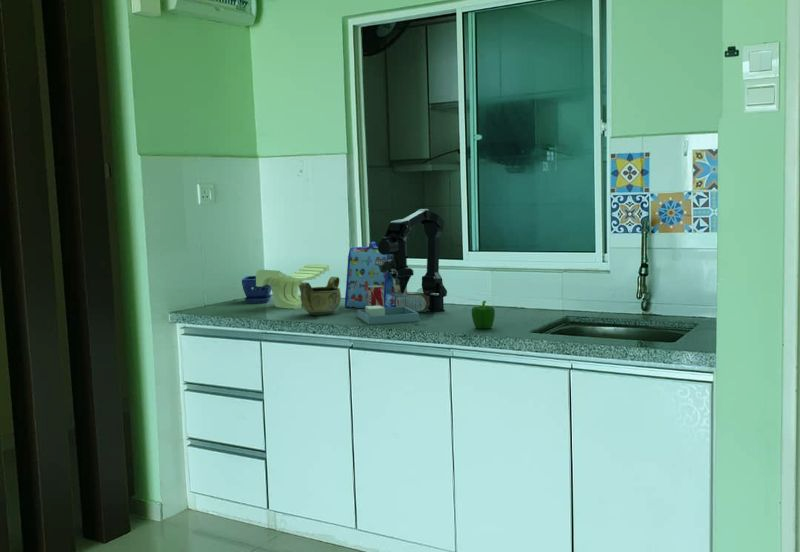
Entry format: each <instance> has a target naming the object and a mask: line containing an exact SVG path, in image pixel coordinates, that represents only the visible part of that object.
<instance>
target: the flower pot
mask: <svg viewBox="0 0 800 552" xmlns="http://www.w3.org/2000/svg"><path fill="white" fill-rule="evenodd" d="M241 285H242V289H243V290H242V291H243V293H244V295H245V298H244V301H245V303H247V304H266V303H268V302H269V301H270V300H271V298H272V295H271V292H272V290H271V286H269V285H265V286H256V275H249V276H248V275H246V276H245V277H243V278H242V279H241Z"/></svg>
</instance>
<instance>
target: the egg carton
mask: <svg viewBox="0 0 800 552" xmlns="http://www.w3.org/2000/svg"><path fill="white" fill-rule="evenodd" d="M364 309H365V314H367V315H368V316H382V315H385V308H384V307H382V306H380V305H379V306H365V308H364Z"/></svg>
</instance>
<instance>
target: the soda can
mask: <svg viewBox="0 0 800 552" xmlns="http://www.w3.org/2000/svg"><path fill="white" fill-rule="evenodd" d="M379 305H380V306H382V307H384V292H383V289H382V286H381V285H371V286H368V289H367V306H379Z"/></svg>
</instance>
